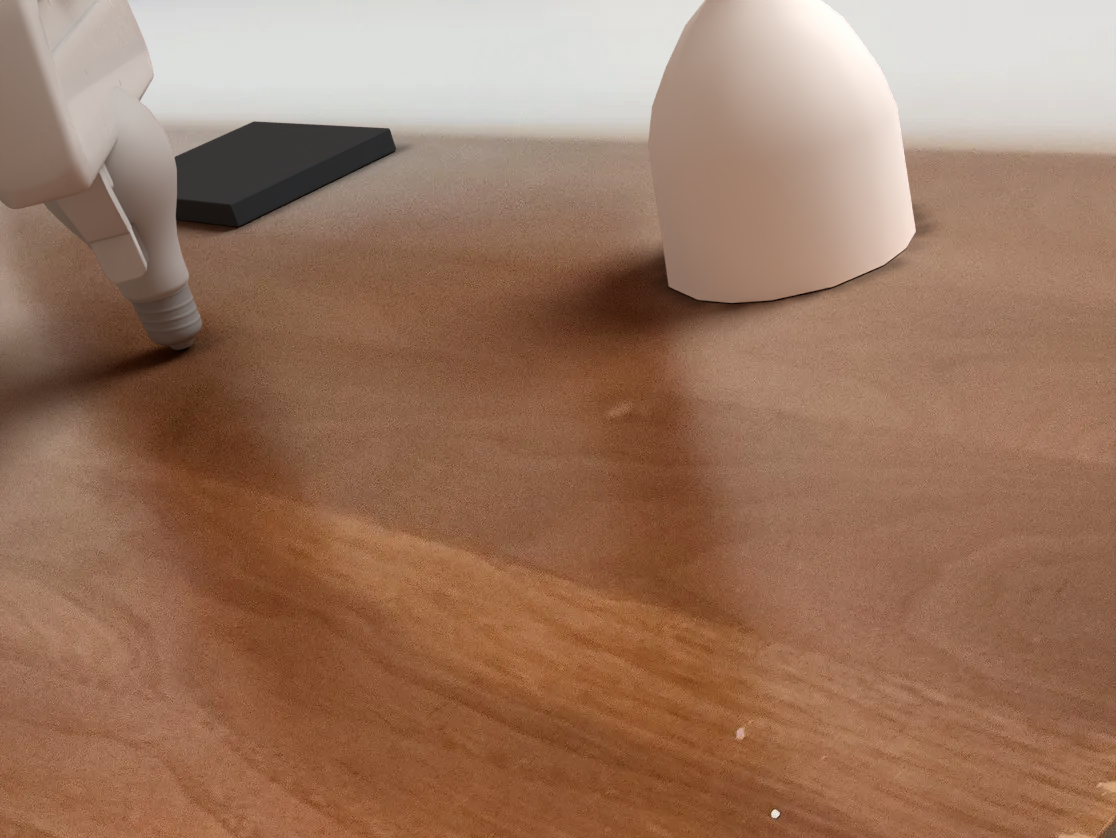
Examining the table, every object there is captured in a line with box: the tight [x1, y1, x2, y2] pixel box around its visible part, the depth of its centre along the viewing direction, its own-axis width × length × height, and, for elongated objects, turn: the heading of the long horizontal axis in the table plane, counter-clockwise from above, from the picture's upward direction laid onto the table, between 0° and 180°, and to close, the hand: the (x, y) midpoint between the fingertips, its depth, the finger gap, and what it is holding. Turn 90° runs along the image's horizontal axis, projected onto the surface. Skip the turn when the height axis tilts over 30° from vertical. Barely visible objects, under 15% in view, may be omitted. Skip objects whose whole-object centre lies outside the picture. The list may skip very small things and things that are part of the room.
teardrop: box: [647, 0, 917, 304], centre depth 58 cm, size 11×11×12 cm
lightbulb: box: [43, 87, 203, 351], centre depth 64 cm, size 6×6×11 cm
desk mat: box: [174, 120, 397, 228], centre depth 86 cm, size 14×12×1 cm
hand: (142, 253), depth 64 cm, fingers closed on lightbulb, 5 cm apart
